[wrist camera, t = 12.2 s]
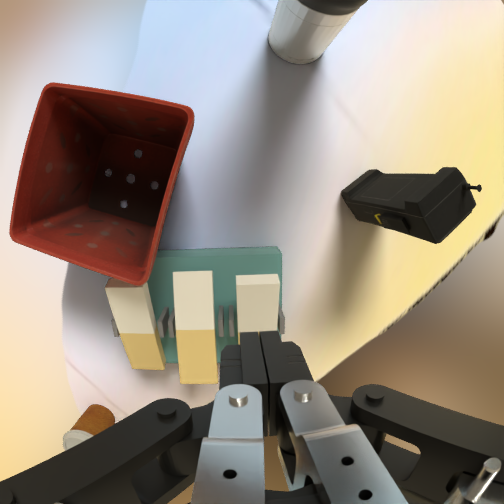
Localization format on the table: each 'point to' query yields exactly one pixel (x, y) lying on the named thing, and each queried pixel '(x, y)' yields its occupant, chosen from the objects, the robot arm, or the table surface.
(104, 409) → the disposable coffee cup
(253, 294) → the rocker
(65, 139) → the plant pot
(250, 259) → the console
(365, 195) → the portable radio
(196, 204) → the table surface
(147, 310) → the rocker
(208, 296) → the rocker
